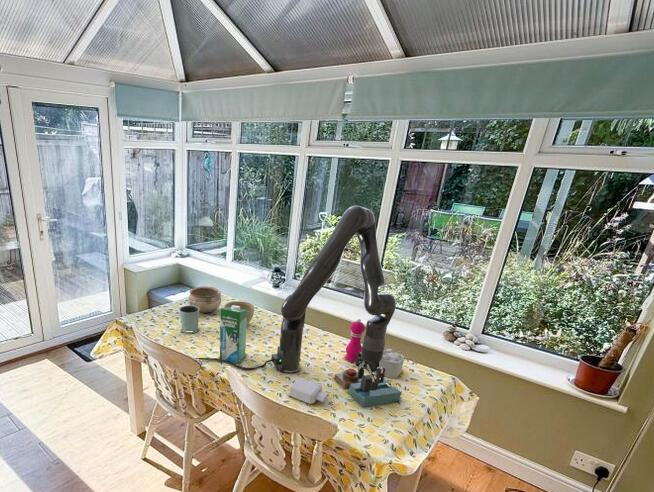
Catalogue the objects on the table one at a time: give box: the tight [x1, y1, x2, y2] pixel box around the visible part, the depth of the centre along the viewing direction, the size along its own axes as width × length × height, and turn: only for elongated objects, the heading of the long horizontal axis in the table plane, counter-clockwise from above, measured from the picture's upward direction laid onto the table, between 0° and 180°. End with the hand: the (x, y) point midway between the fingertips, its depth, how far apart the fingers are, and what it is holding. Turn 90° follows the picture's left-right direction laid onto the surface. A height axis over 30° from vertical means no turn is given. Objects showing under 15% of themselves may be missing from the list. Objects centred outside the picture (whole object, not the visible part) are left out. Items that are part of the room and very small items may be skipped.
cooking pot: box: [187, 286, 222, 314], centre depth 237 cm, size 25×19×12 cm
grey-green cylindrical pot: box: [178, 305, 200, 334], centre depth 213 cm, size 10×10×12 cm
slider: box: [360, 374, 372, 392], centre depth 156 cm, size 3×3×6 cm
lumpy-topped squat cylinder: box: [374, 348, 405, 379], centre depth 178 cm, size 10×13×9 cm
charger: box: [288, 377, 333, 405], centre depth 157 cm, size 5×9×15 cm
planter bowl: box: [223, 300, 256, 327], centre depth 220 cm, size 16×16×11 cm
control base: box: [348, 378, 402, 408], centre depth 159 cm, size 16×10×5 cm, turn 106°
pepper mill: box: [345, 318, 366, 363], centre depth 184 cm, size 7×7×20 cm
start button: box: [347, 368, 357, 376], centre depth 168 cm, size 3×3×2 cm
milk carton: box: [219, 305, 248, 365], centre depth 183 cm, size 9×9×25 cm
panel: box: [334, 369, 361, 389], centre depth 169 cm, size 10×8×4 cm
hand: (366, 384), depth 157 cm, fingers open, 8 cm apart
